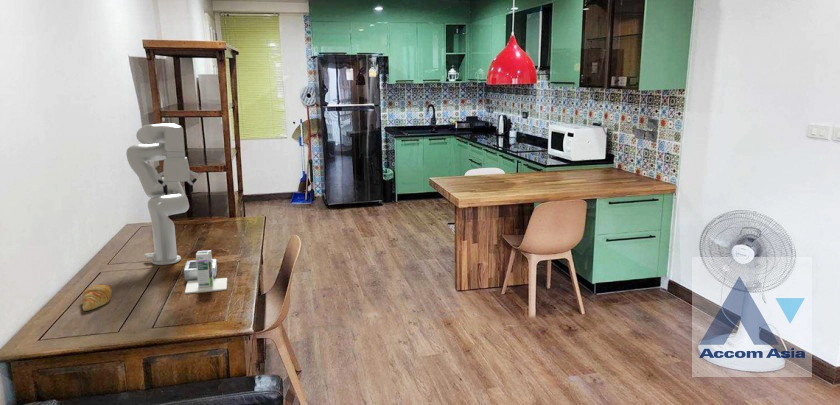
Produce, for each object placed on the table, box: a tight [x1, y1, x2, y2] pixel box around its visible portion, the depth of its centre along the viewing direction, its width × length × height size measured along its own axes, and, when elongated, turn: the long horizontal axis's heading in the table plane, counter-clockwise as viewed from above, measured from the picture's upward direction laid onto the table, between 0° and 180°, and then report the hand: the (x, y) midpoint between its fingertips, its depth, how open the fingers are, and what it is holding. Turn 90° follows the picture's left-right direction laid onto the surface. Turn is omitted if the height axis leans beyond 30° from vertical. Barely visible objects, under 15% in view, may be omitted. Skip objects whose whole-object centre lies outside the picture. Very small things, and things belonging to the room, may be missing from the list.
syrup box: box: [195, 249, 214, 288], centre depth 233 cm, size 6×6×14 cm
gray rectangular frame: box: [183, 258, 218, 282], centre depth 250 cm, size 12×19×5 cm, turn 17°
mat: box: [184, 277, 228, 295], centre depth 235 cm, size 16×13×1 cm
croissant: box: [81, 283, 113, 312], centre depth 217 cm, size 21×10×8 cm, turn 8°
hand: (178, 194), depth 241 cm, fingers open, 9 cm apart
